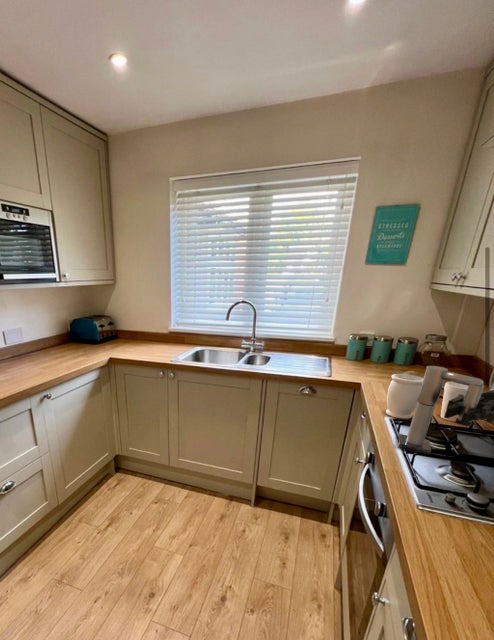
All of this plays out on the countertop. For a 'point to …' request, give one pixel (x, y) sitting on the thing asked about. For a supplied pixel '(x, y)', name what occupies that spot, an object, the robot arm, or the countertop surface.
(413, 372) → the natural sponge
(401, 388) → the jar
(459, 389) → the foam cup
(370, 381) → the countertop surface
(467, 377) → the spout
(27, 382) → the countertop surface
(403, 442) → the tap base
